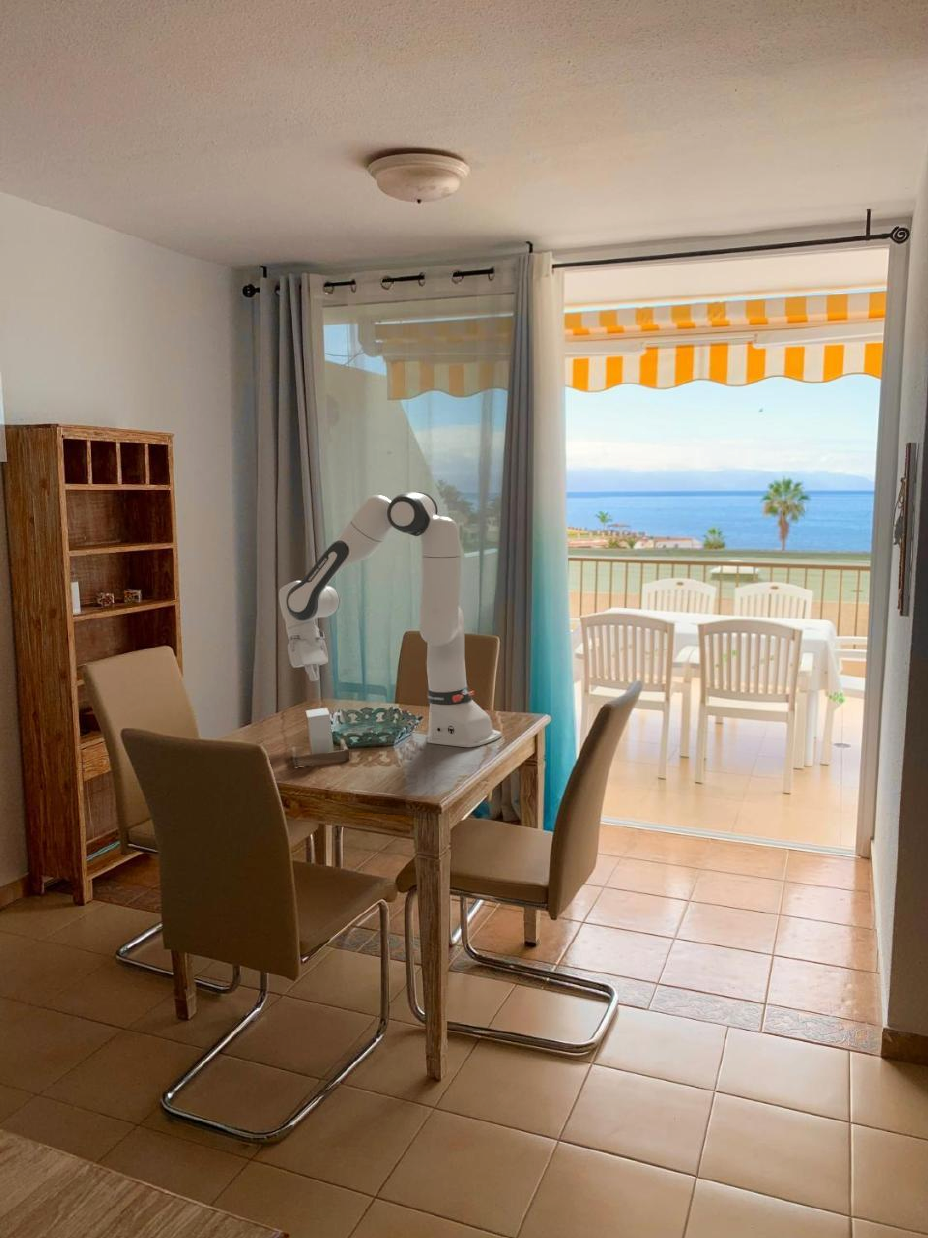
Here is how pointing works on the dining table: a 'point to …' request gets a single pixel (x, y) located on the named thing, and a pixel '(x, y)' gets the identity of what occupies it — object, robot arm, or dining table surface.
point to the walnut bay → (321, 756)
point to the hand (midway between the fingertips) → (314, 680)
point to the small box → (319, 731)
